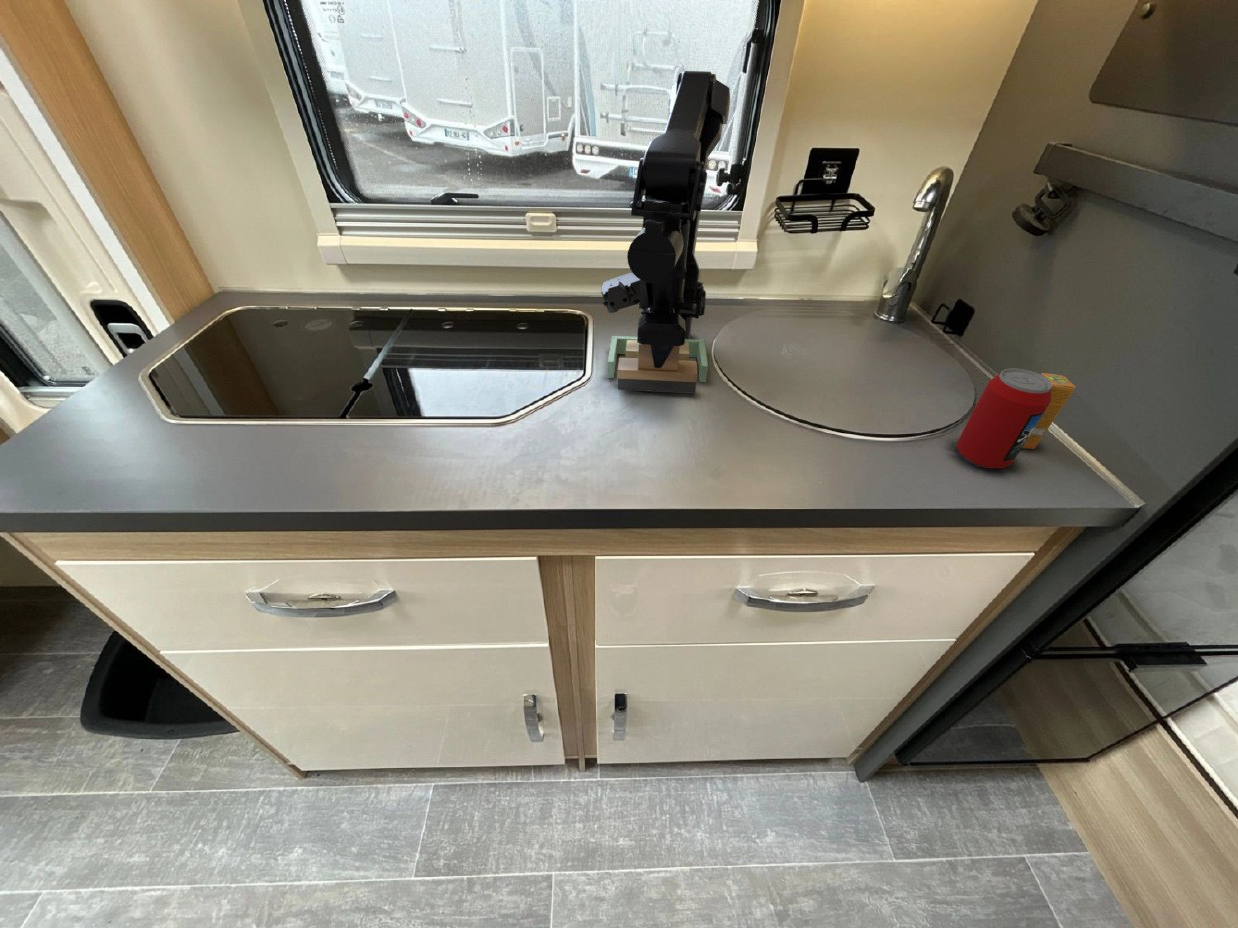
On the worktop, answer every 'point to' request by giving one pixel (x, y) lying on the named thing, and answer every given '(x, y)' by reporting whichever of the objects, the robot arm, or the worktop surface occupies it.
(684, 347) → the block
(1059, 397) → the supplement box
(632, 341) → the block
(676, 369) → the brush
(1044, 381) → the beverage can
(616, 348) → the corral
